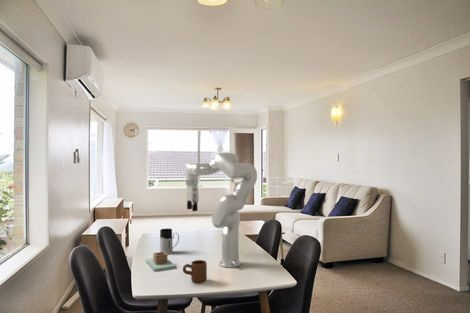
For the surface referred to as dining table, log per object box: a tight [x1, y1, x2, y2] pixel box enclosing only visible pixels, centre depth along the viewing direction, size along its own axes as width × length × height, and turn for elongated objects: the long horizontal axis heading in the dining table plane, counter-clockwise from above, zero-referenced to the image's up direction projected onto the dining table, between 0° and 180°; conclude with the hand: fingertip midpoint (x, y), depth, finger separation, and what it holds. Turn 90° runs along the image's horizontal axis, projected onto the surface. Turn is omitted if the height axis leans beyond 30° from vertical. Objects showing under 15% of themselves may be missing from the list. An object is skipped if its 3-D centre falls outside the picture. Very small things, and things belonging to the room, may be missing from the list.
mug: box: [182, 259, 208, 284], centre depth 174 cm, size 12×8×9 cm, turn 112°
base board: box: [145, 257, 176, 272], centre depth 202 cm, size 20×12×2 cm, turn 27°
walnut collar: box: [152, 251, 168, 265], centre depth 202 cm, size 6×6×5 cm
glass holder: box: [159, 228, 180, 256], centre depth 227 cm, size 9×14×15 cm, turn 64°
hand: (192, 210), depth 223 cm, fingers open, 9 cm apart
